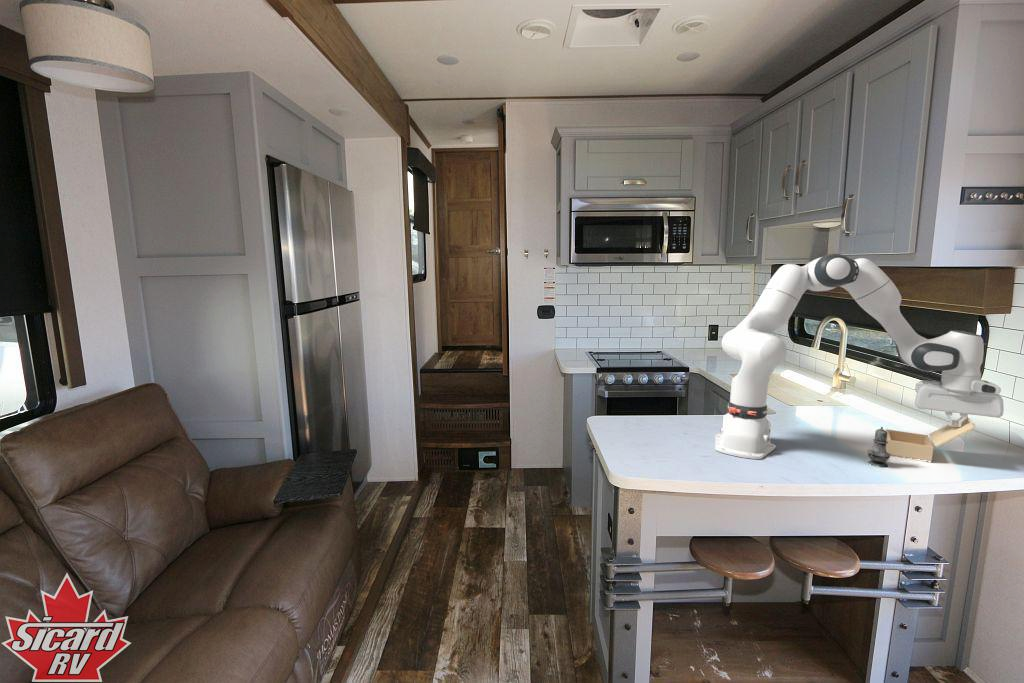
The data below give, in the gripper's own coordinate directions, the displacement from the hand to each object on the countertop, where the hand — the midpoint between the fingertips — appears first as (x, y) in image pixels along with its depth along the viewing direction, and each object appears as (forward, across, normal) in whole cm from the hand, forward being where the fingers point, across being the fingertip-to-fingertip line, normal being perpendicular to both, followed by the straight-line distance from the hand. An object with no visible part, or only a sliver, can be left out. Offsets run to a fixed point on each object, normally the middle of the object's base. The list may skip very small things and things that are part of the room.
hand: (954, 426), depth 151 cm
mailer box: (+11, -11, +1) cm, 15 cm away
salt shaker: (+11, -19, -17) cm, 28 cm away
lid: (+1, -1, +1) cm, 2 cm away
